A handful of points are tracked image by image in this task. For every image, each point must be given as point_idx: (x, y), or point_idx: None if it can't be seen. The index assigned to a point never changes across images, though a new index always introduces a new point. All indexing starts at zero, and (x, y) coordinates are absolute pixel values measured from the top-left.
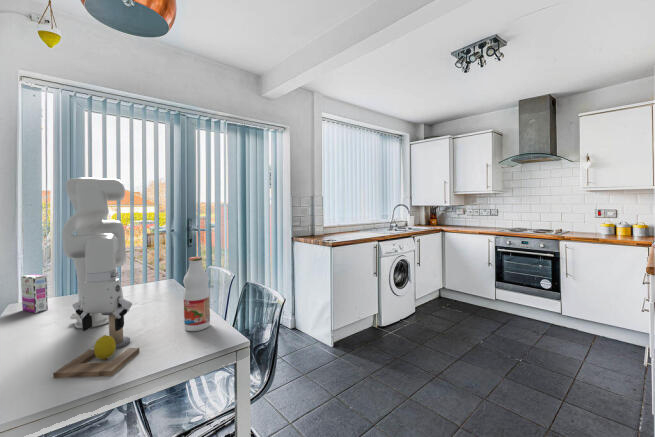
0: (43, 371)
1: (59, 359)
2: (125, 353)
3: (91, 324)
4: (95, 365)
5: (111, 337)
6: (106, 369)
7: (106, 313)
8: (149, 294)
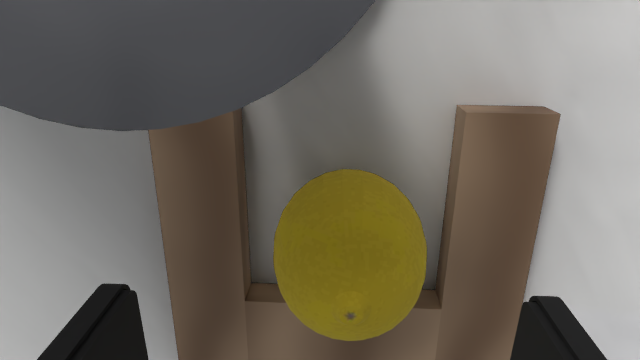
0: (71, 293)
1: (22, 165)
2: (488, 205)
3: (117, 325)
4: None
5: (405, 277)
6: None
7: (111, 125)
8: None
